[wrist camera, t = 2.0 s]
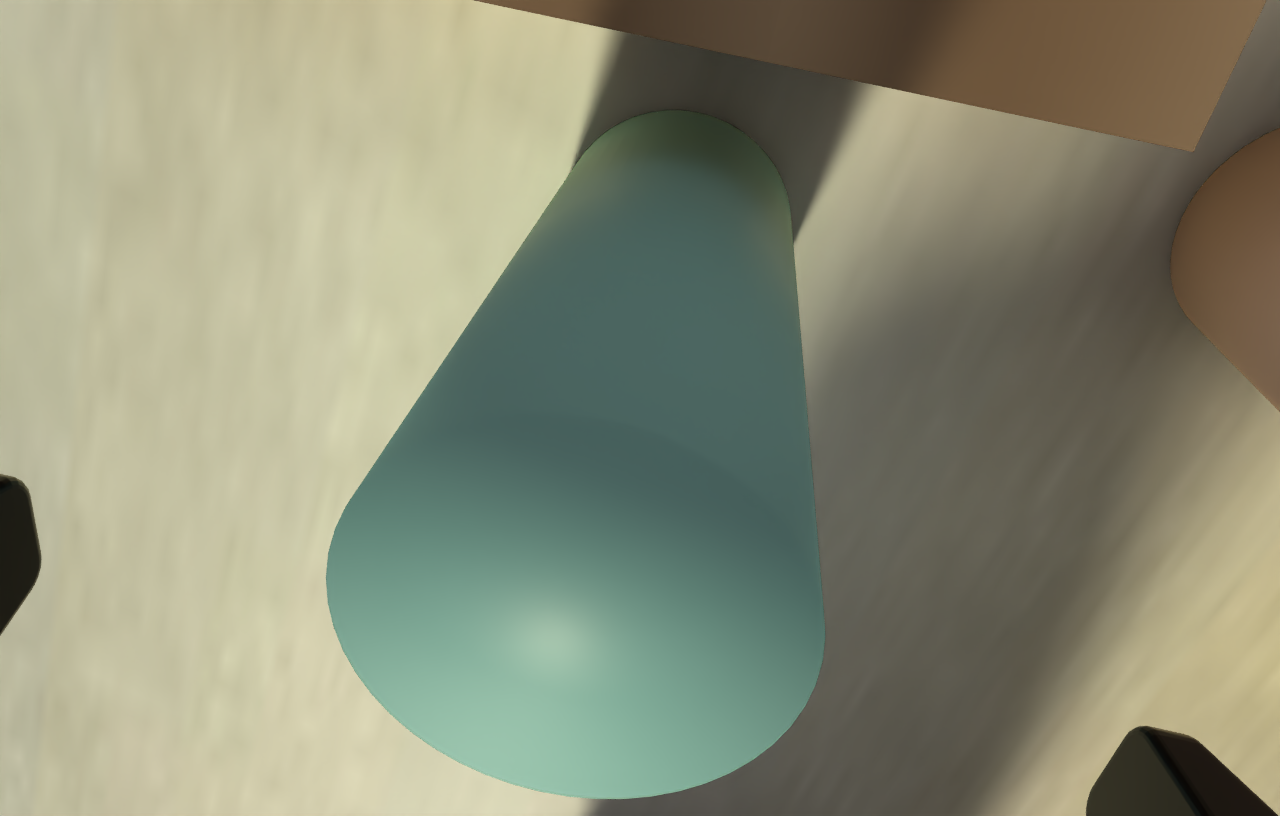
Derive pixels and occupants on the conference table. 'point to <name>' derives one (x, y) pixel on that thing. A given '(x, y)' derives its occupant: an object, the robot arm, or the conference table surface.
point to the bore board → (977, 50)
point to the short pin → (1236, 262)
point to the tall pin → (605, 490)
